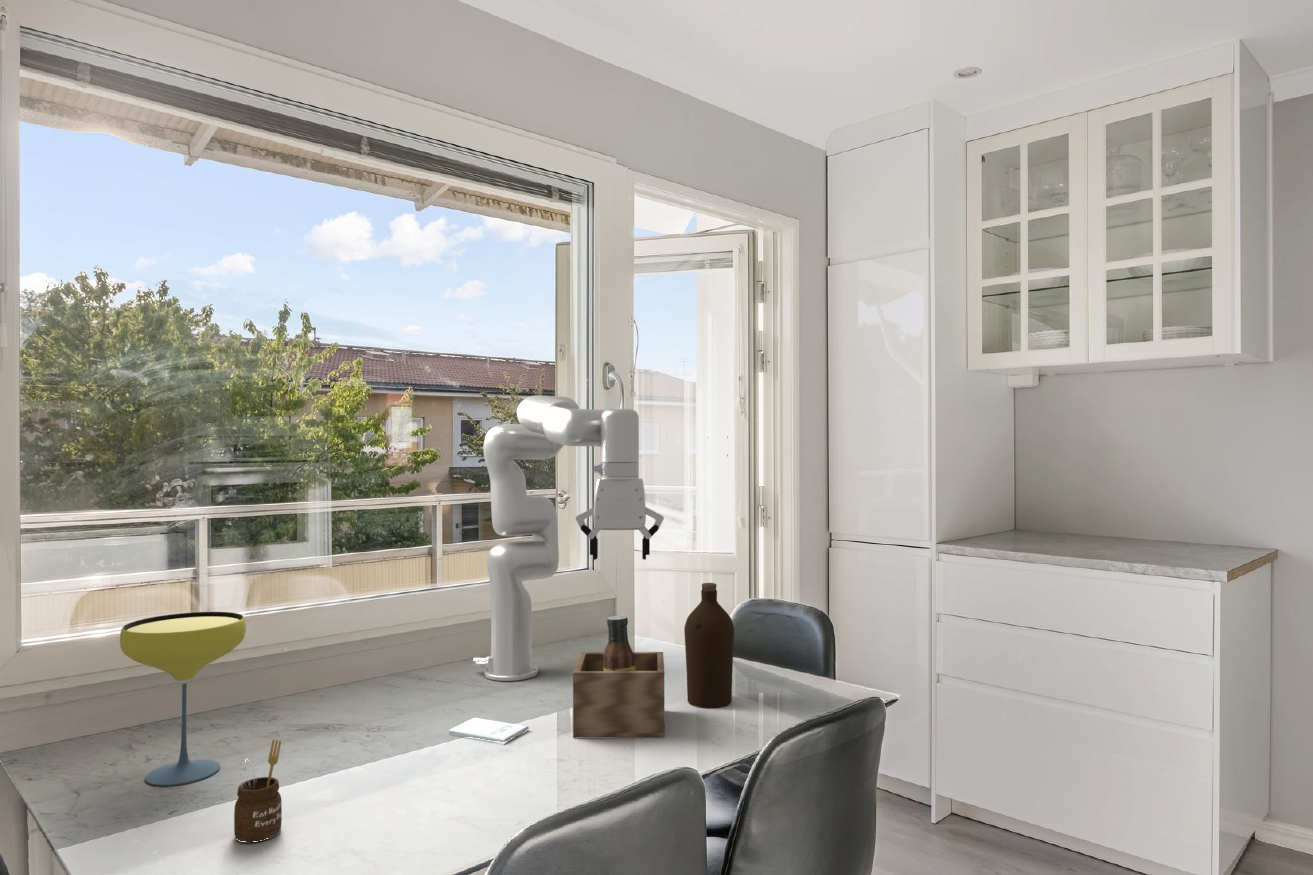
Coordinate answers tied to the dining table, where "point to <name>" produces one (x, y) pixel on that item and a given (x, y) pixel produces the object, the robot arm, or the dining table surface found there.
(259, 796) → the utensil holder
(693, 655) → the olive oil
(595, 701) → the walled box
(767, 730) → the dining table surface
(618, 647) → the sauce bottle
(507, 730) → the external hard drive
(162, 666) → the cocktail glass
